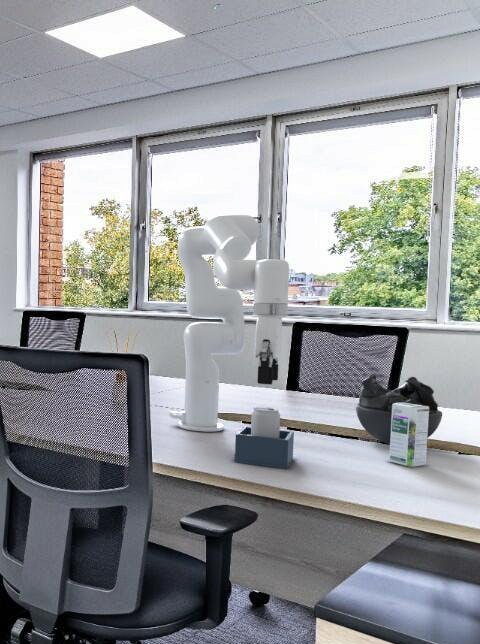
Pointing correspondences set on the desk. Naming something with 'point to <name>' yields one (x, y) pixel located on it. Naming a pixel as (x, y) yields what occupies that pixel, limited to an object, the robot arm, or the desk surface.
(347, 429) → the desk surface
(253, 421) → the beverage can
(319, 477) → the desk surface
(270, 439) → the desk bin
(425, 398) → the bowl of black rocks
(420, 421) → the syrup box
